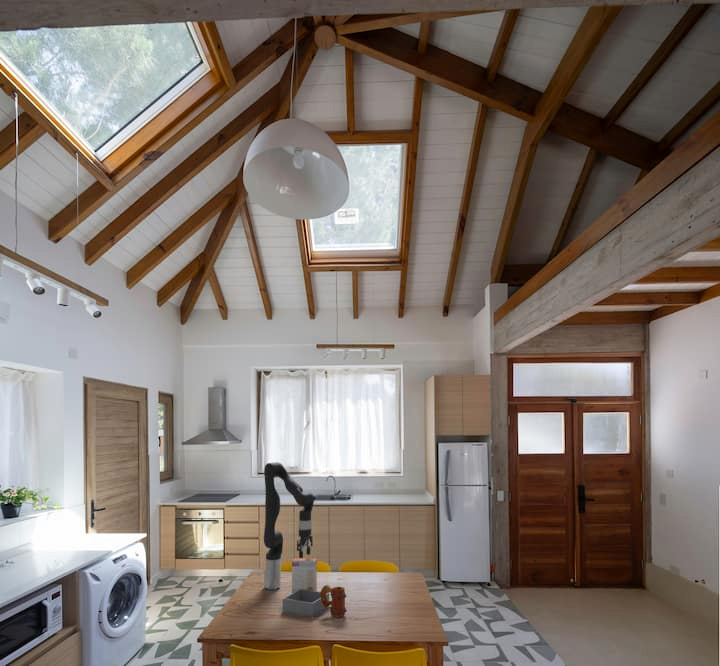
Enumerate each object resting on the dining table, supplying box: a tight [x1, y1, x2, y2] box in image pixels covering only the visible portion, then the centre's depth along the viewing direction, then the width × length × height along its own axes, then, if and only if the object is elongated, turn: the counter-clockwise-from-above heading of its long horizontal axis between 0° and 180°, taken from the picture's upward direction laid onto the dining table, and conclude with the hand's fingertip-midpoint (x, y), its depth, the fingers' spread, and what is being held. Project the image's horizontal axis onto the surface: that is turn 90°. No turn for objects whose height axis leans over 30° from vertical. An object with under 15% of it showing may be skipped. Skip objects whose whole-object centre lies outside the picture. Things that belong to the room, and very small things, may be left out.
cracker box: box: [291, 557, 318, 594], centre depth 330 cm, size 14×6×21 cm, turn 84°
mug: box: [320, 584, 348, 619], centre depth 299 cm, size 15×8×15 cm, turn 71°
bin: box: [282, 589, 330, 618], centre depth 307 cm, size 19×19×7 cm
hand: (304, 556), depth 331 cm, fingers open, 8 cm apart
